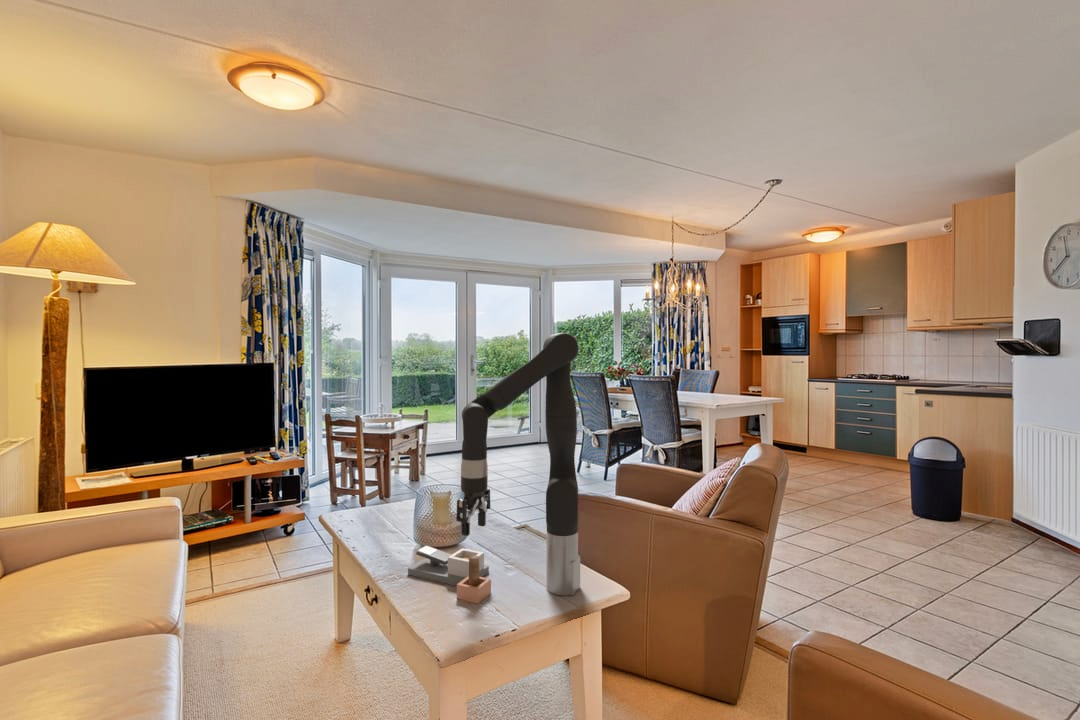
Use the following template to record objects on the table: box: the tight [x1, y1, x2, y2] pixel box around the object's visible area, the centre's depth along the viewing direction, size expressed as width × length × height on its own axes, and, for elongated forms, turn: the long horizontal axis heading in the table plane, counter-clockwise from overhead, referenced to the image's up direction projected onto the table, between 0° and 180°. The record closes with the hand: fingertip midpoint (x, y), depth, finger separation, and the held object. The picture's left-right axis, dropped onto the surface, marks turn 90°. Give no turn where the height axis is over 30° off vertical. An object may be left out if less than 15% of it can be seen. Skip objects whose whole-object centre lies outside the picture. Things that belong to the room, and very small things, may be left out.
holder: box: [456, 576, 492, 604], centre depth 150 cm, size 7×7×4 cm
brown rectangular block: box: [469, 555, 479, 587], centre depth 149 cm, size 3×3×11 cm
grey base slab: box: [407, 548, 490, 587], centre depth 164 cm, size 22×12×7 cm, turn 65°
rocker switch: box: [416, 545, 452, 565], centre depth 166 cm, size 11×5×1 cm, turn 65°
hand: (473, 530), depth 149 cm, fingers open, 8 cm apart
